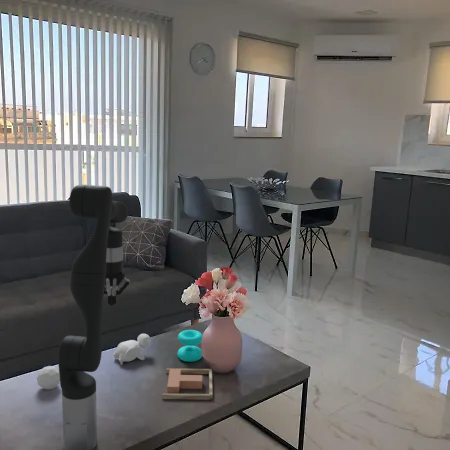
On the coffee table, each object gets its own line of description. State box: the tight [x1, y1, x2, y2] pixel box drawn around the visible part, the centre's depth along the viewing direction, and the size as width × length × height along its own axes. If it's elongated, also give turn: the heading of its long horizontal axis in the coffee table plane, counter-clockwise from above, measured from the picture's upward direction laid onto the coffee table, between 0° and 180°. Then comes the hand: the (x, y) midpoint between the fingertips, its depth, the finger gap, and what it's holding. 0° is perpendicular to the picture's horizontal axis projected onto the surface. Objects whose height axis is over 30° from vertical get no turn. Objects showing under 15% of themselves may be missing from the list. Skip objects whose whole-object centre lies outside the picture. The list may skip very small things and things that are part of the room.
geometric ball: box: [36, 365, 60, 391], centre depth 168 cm, size 8×8×8 cm
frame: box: [161, 367, 214, 401], centre depth 174 cm, size 18×17×2 cm
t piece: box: [166, 368, 203, 394], centre depth 174 cm, size 12×12×3 cm
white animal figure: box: [112, 333, 152, 366], centre depth 191 cm, size 9×8×15 cm
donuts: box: [177, 329, 203, 363], centre depth 193 cm, size 10×10×10 cm
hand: (112, 304), depth 174 cm, fingers closed
